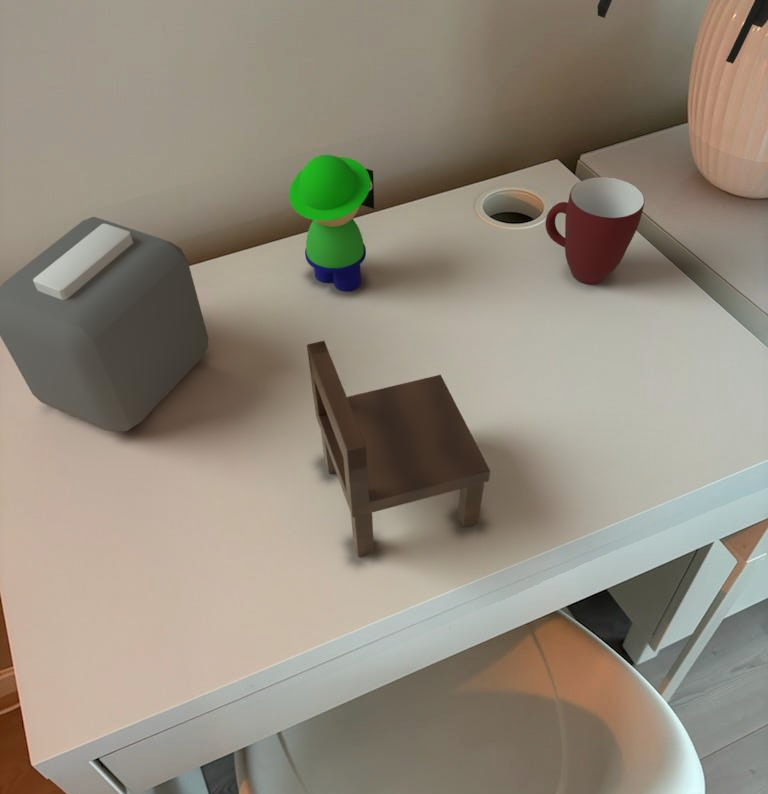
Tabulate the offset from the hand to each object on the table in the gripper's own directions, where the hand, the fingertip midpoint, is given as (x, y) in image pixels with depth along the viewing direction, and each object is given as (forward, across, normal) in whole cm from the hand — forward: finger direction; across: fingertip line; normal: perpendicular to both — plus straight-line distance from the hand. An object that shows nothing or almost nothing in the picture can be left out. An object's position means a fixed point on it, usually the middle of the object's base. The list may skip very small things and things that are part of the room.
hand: (665, 35), depth 74 cm
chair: (+48, +4, +22) cm, 52 cm away
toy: (+34, +24, -1) cm, 42 cm away
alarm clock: (+50, +35, +17) cm, 64 cm away
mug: (+23, -2, -9) cm, 25 cm away
